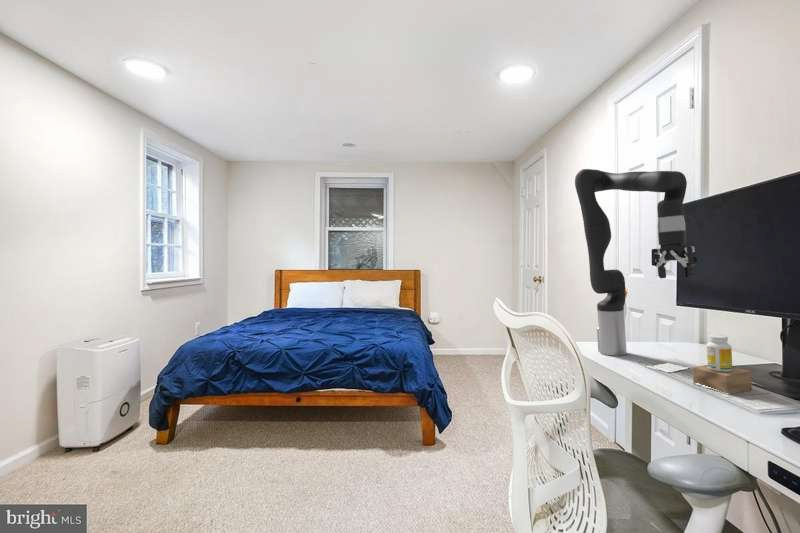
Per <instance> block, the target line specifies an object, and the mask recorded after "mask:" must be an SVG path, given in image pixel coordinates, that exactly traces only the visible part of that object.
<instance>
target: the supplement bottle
mask: <svg viewBox="0 0 800 533" xmlns="http://www.w3.org/2000/svg"><path fill="white" fill-rule="evenodd" d="M708 338H709V342H707V344H706V357H707V358H706V361H707V365H708V368H709V369H711V370H714V371H720V372H730V371H732V367H733V354H732V353H733V352H732V346H731V344H730V343H728V341H729V337H728V336H727V335H725V334H723V335H722V334H709V337H708Z"/></svg>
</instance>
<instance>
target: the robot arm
mask: <svg viewBox="0 0 800 533" xmlns="http://www.w3.org/2000/svg"><path fill="white" fill-rule="evenodd" d="M687 185H688V182H687V177H686V176H685V174H684V173H683V172H681V171H678V170H677V171H676V170H658V171H628V172H627V171H626V172H622V173H621V172H619V173H617V172H616V173H615V172H608V171H604V170H600V169H593V168H591V169H590V168H583V169H580V170H579V171H578V172H577V173H576V175H575V178H574V186H575V191H576V195H577V198H578V201H579V202H578V203H579V205H580V211H581V215H582V220H583V227H584V228H583V229H584V234H585V241H586V245H587V246H586V247H587V254H588V262H589V263H588V264H589V265H588V266H589V281H590V285H591V288H592V291H594V292H595V294H599V295H600V294H601V295H603V294H606V295H607V296H606V297H605V298H604V299H603V300H600V301H599V302H597V303H596V309H597V310H596V311H597V323H598V327H597V328H596V338H597V339H596V340H597V351H598V352H599V353H601V354H602V355H607V356H614V357H615V356H616V357H617V356H625V355H627V354H628V351H627V338H626V336H627V335H626V324H625V323H626V322H625V303H626V279H625V275H624V274H623V272H622V271H621V270H619V269H605V265H604V264H605V262H604V258H605V253H606V252H607V249H608V247H609V245H610V243H611V240H612V230H611V224H610V219H609V218H608V216H607V214H606V213H605V211H604V210H603V209H602V206H600V204H599V203H598V200H597V198H596V197H597V196H596V193H597V192H603V191H610V190H614V191H615V190H617V191H618V190H620V191H626V192H627V191H628V192H650V193H651V192H652V193H664V195H663V200H660V201H659V202H658V203H657V206H656V207H657V208H656V209H657V235H658V236H657V237H658V238H657V239H658V245H659V246H660V247H659V248H652V249H651V266H653V267H656V268H657V273H658V274H657V276H658V278H659V279H666V278H667V269H666V267H665V266H666V265H667V264H668V263H669V262H670V261H677V262H678V263H680V264H681V265H682V273H683V279H685V280H687V279H689V280H690V279H692V277H693V271H692V270H693V269H692V268H693V266H697V265H698V264H699V260H698V258H699V257H698V251H697V246H695V245H693V246H686V244H687V233H686V229H687V228H686V221H685V214H684V213H685V212H684V200H685V197H686V192H687ZM686 254H687V255H686Z"/></svg>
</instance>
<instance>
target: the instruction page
mask: <svg viewBox="0 0 800 533" xmlns="http://www.w3.org/2000/svg"><path fill="white" fill-rule="evenodd" d="M645 368H647V369H652V370H654V371H657V370H656V369H655V368H653V367H651V365H647V366H645Z"/></svg>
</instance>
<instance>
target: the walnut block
mask: <svg viewBox="0 0 800 533" xmlns="http://www.w3.org/2000/svg"><path fill="white" fill-rule="evenodd" d="M692 379H693V381H692V382H694V383H699V384H701V385H705V386H708V387H711V388H714V389H717V390H719V391H721V392H725V393H731V394H734V392H736V393H740V392H745V391H750V390H753V388H752V387H753V386H752V371H751V370H746V369H742V368H738V367H733V366H732V371H730V372H720V371H714V370H711V369H709V368H708V364H705V365H699V366H694V367H692ZM694 383H693V384H694ZM721 392H720V393H721ZM725 393H724V394H725Z"/></svg>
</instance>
